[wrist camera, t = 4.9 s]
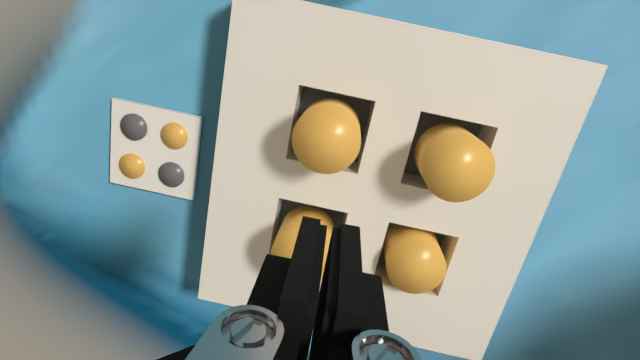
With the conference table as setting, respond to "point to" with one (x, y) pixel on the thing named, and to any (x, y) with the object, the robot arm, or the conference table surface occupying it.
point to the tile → (154, 148)
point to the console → (389, 154)
